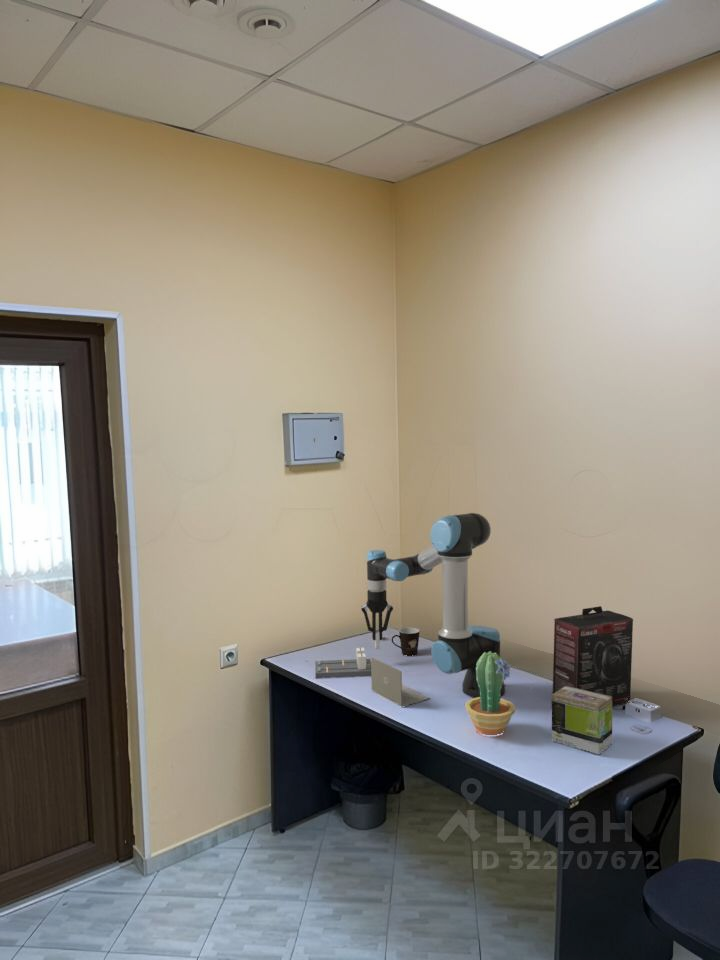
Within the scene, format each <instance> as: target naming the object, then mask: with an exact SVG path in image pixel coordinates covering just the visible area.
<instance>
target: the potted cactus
mask: <svg viewBox="0 0 720 960" xmlns="http://www.w3.org/2000/svg"><path fill="white" fill-rule="evenodd" d="M476 666H477V667H476V677H477V683H478V686H479V688H480V697H477V698H474V697H473V698H470V699H469V700H467V702H465V703H464V706H465V710H466V712H467V715H469V718H470V720H471V722H472V724H473V725H474V727H475V729H476V730H477V732H479V733H481V734H485V735H497V734H501V733H503V731H505V728H506V727H507V725H508V724H509V722H510V720H511V718H512V717H513V715H514V714H515V710H516V707H515V705H514V704H513V702H511V701H509V700H507V699H505V698H501V697H500V693H501V688H502V685H503V682H504V681H505V680H506V679H507V678H510V674H511V673H510V672H511V666H510V665H509V663H508V662H507V661H506V660H504V659H503V658H501V656H500V657H499V656H498V655H497V653H493V654H492V652H491V651H489V652H488V653H486V652H484V653H483V654H482V656H481V657H480V658H479V660H478V662H477V664H476ZM504 683H505V682H504ZM476 730H475V731H476ZM477 732H476V733H477Z"/></svg>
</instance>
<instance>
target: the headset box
mask: <svg viewBox="0 0 720 960" xmlns="http://www.w3.org/2000/svg"><path fill="white" fill-rule="evenodd" d="M592 611H594V612H592ZM553 620H554V621H553V622H554V627H553V628H554V632H553V664H552V665H553V668H552V671H553V672H552V694H554V693H555V692H557V691H558V690H560V689H562V688H563V687H565V686H569V687H573V688H577V689H582V690H586V691H590V692H595V693H599V694H603V695H608V696H611V697H612V705H615V706H618V705H617V704H620V705H624V704H627V703H626V702H628V701H629V700H630V701H631V689H632V684H631V683H632V681H631V680H632V664H633V663H632V659H633V634H634V633H633V631H634V629H633V628H634V619H633V618H632V617H631V616H630V617H629V615H628V616H627V615H625V614H621V613H617V612H614V611H611V610H607V609H606V610H603V607H602V606H600V605H599V606H593V607H587V608H582V613H581V614H577V615H571V616H563V617H558V618H553ZM628 703H629V702H628Z"/></svg>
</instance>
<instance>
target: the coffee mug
mask: <svg viewBox="0 0 720 960" xmlns="http://www.w3.org/2000/svg"><path fill="white" fill-rule="evenodd" d="M398 632H399V633H398V634H394V635H392V637H391V643H392V644H393V645H394V646H395V647H397V648H399V649H400V650H401V655H402V654H403V655H402V656H404V655H407V656H406V657H413V656H412V655H416V654H417V655H418V651H419V641H420V633H421V632H420V629H419V628H416V627H403V628H400V629H399V630H398ZM396 637H397V638H399V639H400V640H399V641H400V646H399V645H398V644H396V643H395V642H394V638H396ZM417 655H416V656H417Z"/></svg>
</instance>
